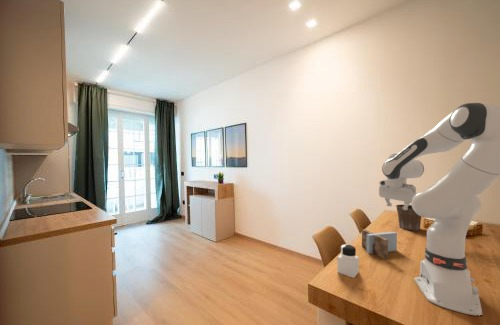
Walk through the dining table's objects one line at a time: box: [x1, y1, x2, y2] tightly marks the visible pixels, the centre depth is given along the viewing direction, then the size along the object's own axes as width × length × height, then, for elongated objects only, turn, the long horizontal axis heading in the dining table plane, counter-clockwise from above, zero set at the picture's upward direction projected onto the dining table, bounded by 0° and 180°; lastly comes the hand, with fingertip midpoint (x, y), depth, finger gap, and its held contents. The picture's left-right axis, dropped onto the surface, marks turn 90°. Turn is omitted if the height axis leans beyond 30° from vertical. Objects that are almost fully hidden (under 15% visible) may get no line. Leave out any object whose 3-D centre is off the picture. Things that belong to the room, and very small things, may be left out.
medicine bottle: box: [337, 244, 360, 279], centre depth 95 cm, size 7×7×12 cm
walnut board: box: [361, 228, 389, 260], centre depth 115 cm, size 16×2×10 cm, turn 12°
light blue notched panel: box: [365, 231, 398, 254], centre depth 116 cm, size 18×2×10 cm, turn 102°
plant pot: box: [395, 204, 422, 232], centre depth 154 cm, size 16×16×16 cm
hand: (396, 207), depth 115 cm, fingers open, 8 cm apart
